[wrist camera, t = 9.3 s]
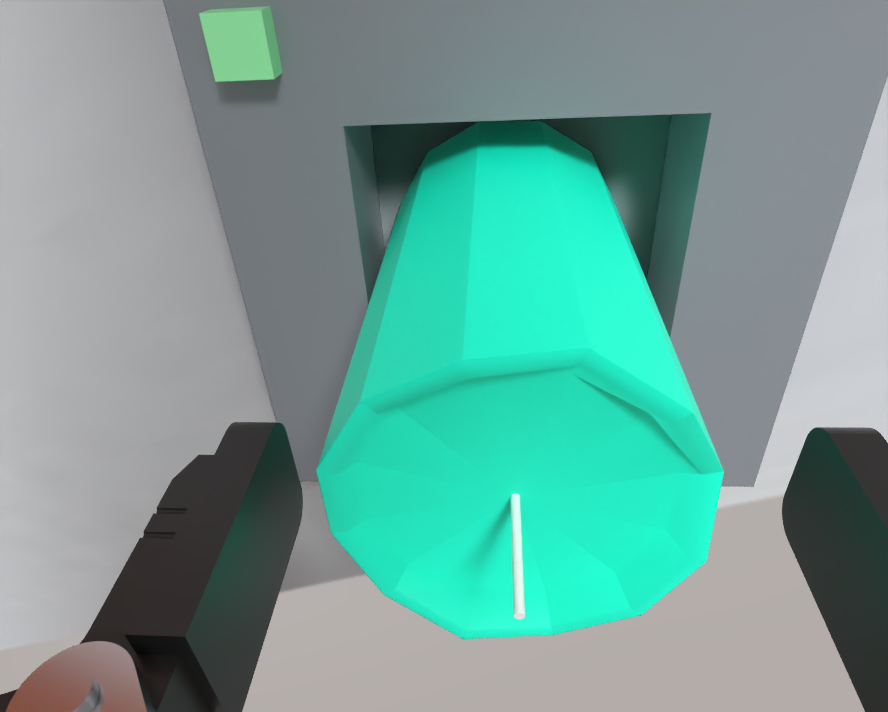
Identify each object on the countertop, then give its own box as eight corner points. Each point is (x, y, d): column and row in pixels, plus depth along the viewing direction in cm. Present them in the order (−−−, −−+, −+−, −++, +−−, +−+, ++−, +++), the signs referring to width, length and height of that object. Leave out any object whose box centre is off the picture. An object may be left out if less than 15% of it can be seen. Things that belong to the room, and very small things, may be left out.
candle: (569, 337, 20) (643, 757, 10) (381, 291, 19) (265, 686, 10) (652, 151, 16) (884, 514, 7) (425, 89, 16) (315, 383, 6)
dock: (209, -52, 14) (136, -40, 11) (858, -90, 13) (962, -90, 10) (314, 418, 22) (287, 495, 19) (723, 419, 21) (760, 502, 18)
